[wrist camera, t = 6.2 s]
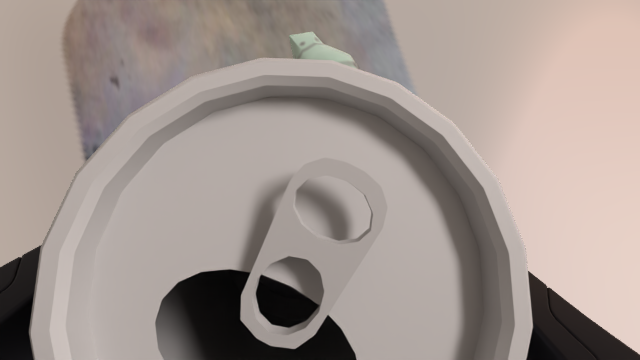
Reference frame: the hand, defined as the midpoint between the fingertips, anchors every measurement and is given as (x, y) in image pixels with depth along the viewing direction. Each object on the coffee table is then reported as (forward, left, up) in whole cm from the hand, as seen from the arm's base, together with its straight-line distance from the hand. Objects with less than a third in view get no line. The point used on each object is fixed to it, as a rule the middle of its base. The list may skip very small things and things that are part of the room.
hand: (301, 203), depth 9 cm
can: (-1, 0, -7) cm, 7 cm away
